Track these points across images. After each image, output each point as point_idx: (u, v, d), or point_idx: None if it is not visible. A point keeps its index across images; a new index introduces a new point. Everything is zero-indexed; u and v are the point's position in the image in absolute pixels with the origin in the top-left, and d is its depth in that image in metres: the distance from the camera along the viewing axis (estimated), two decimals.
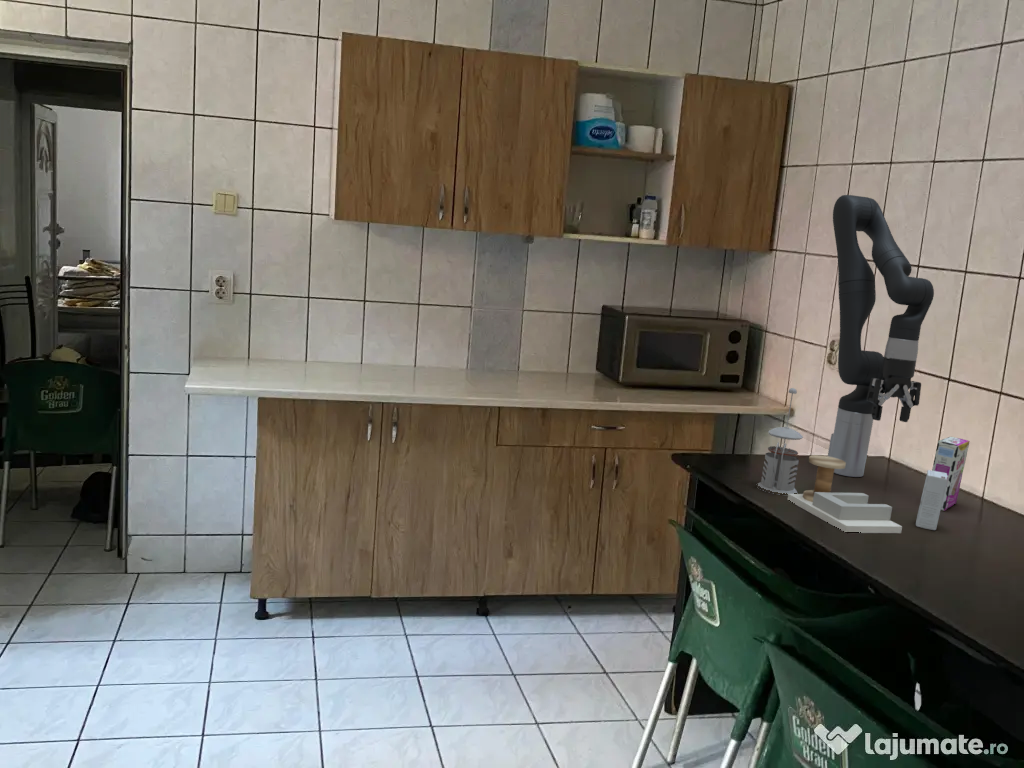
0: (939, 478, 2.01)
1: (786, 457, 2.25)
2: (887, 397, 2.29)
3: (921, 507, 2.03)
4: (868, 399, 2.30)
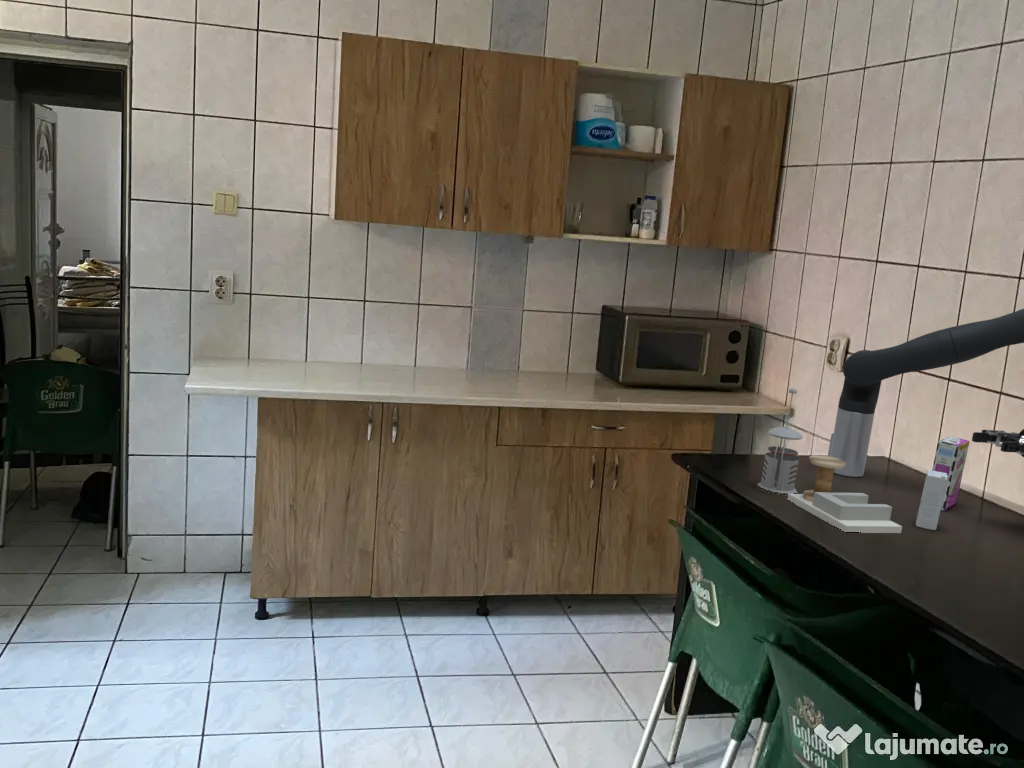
0: (939, 478, 2.01)
1: (786, 457, 2.25)
2: None
3: (921, 507, 2.03)
4: None
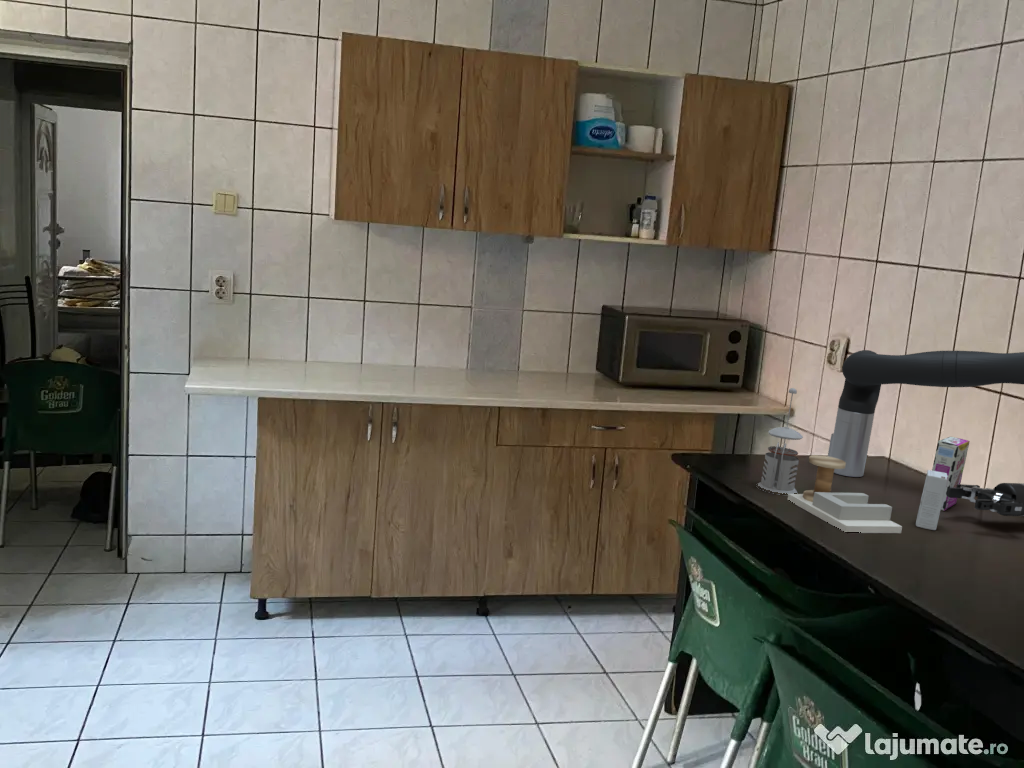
0: (939, 478, 2.01)
1: (786, 457, 2.25)
2: None
3: (921, 507, 2.03)
4: (1004, 505, 2.02)
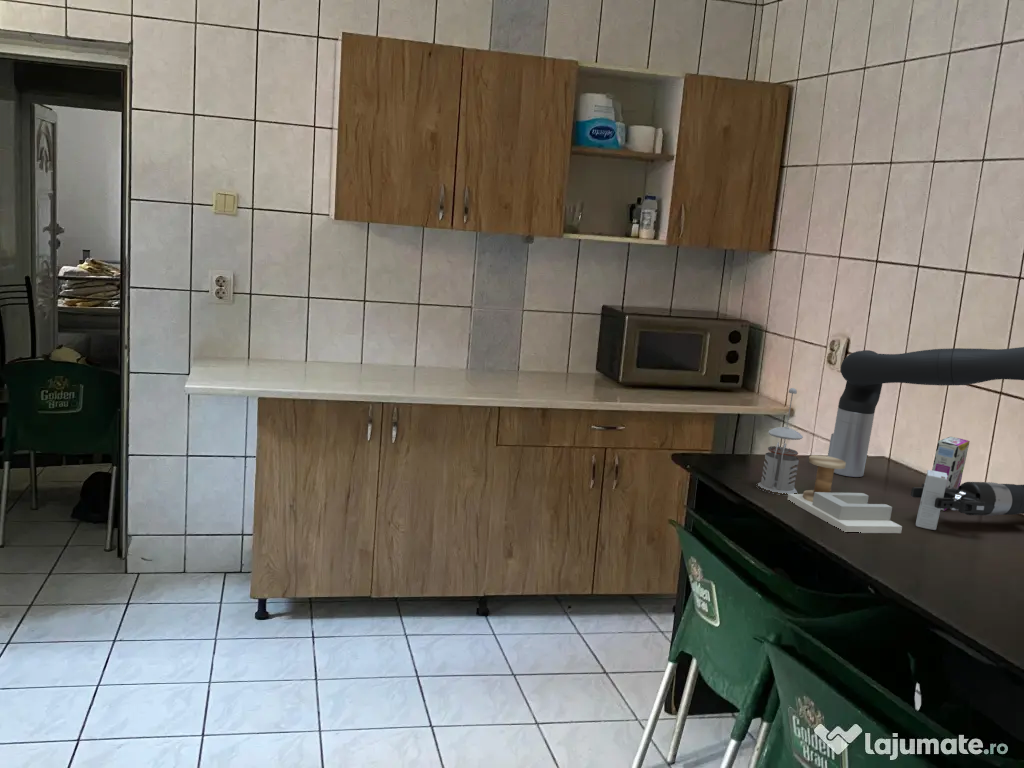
0: (939, 478, 2.01)
1: (786, 457, 2.25)
2: None
3: (921, 507, 2.03)
4: (964, 504, 1.99)
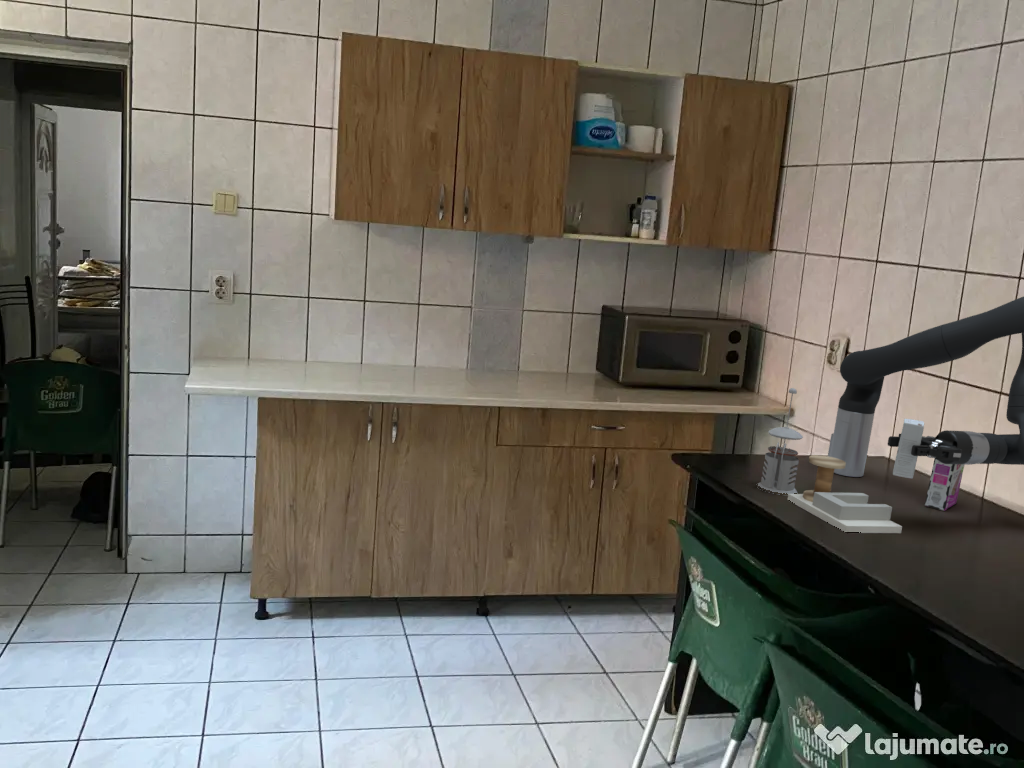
0: (916, 425, 1.99)
1: (786, 457, 2.25)
2: (932, 457, 2.01)
3: (898, 455, 2.01)
4: (941, 451, 1.97)
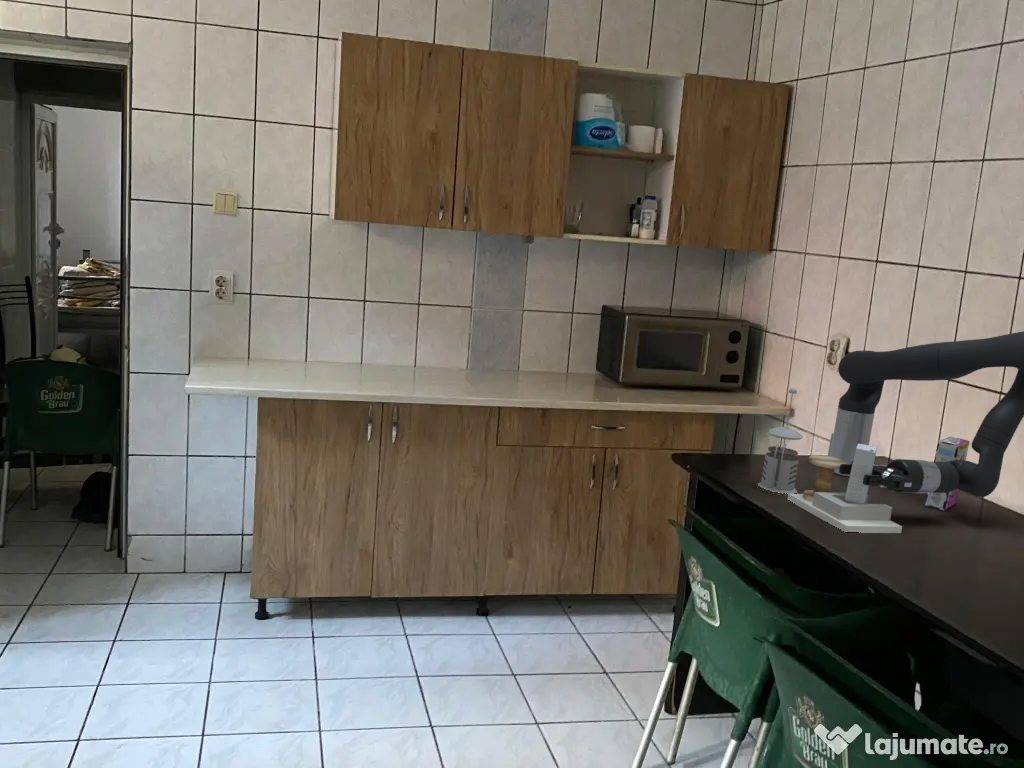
0: (867, 451, 1.99)
1: (786, 457, 2.25)
2: None
3: (850, 480, 2.01)
4: (892, 481, 1.97)
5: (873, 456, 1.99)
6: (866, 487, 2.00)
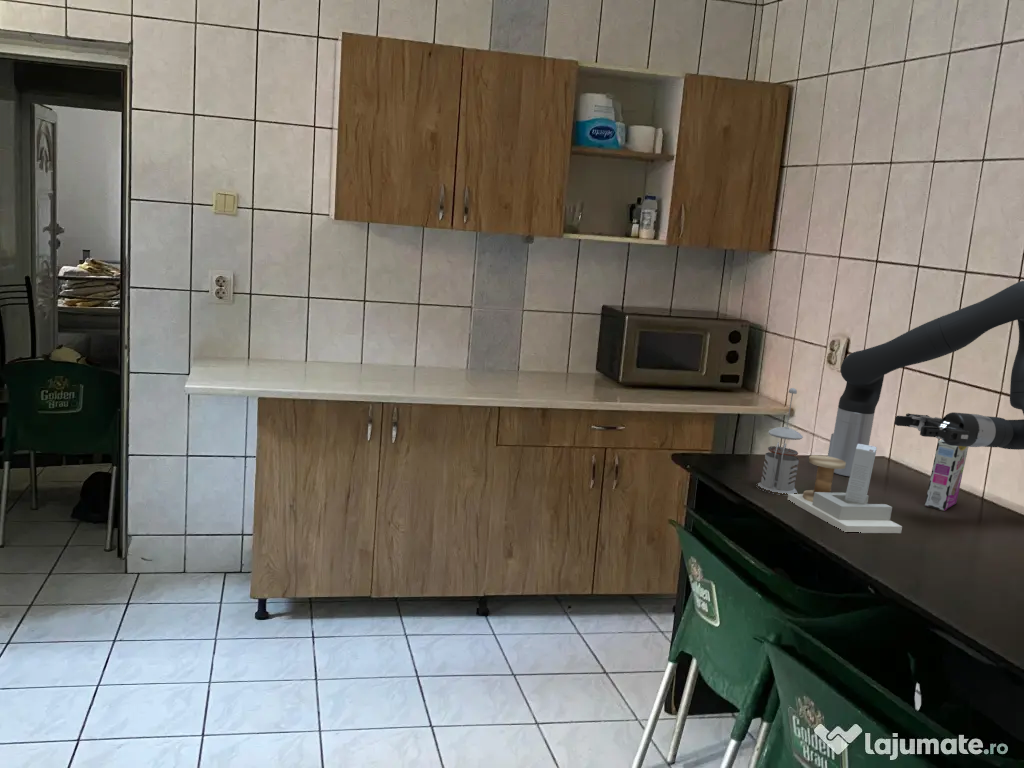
0: (867, 451, 1.99)
1: (786, 457, 2.25)
2: None
3: (849, 480, 2.01)
4: (950, 432, 1.99)
5: (873, 456, 1.99)
6: (866, 487, 2.00)
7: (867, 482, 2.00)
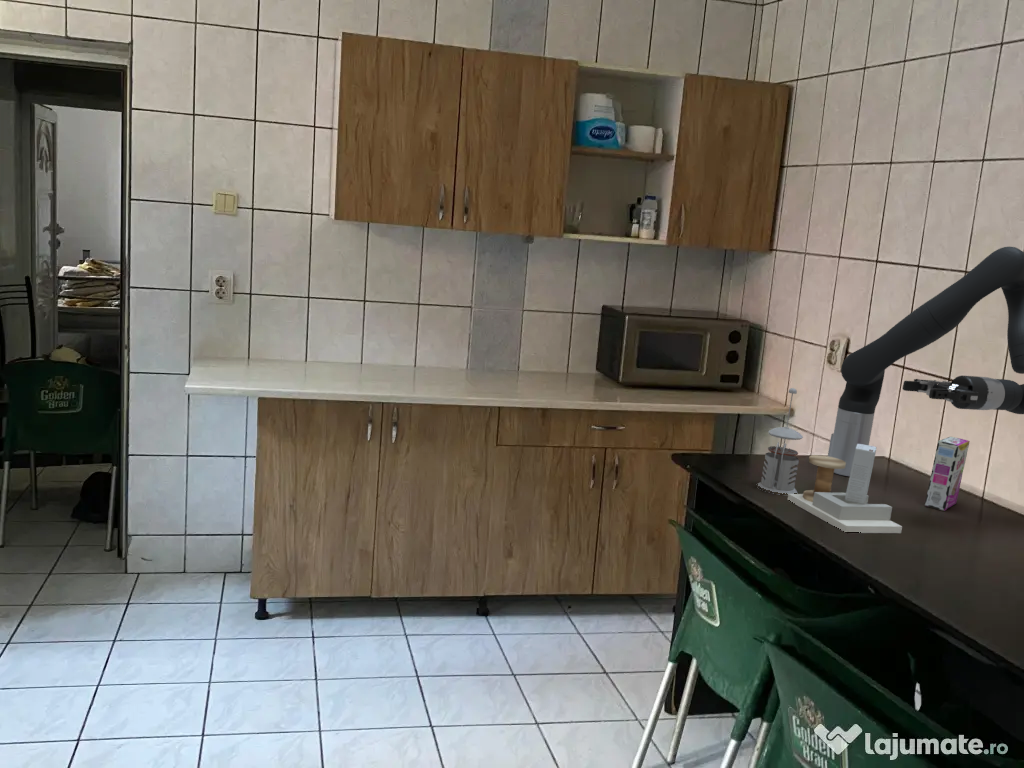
0: (867, 451, 1.99)
1: (786, 457, 2.25)
2: (949, 401, 2.02)
3: (849, 481, 2.01)
4: (959, 394, 1.98)
5: (872, 456, 1.99)
6: (866, 487, 2.00)
7: (867, 482, 2.00)
